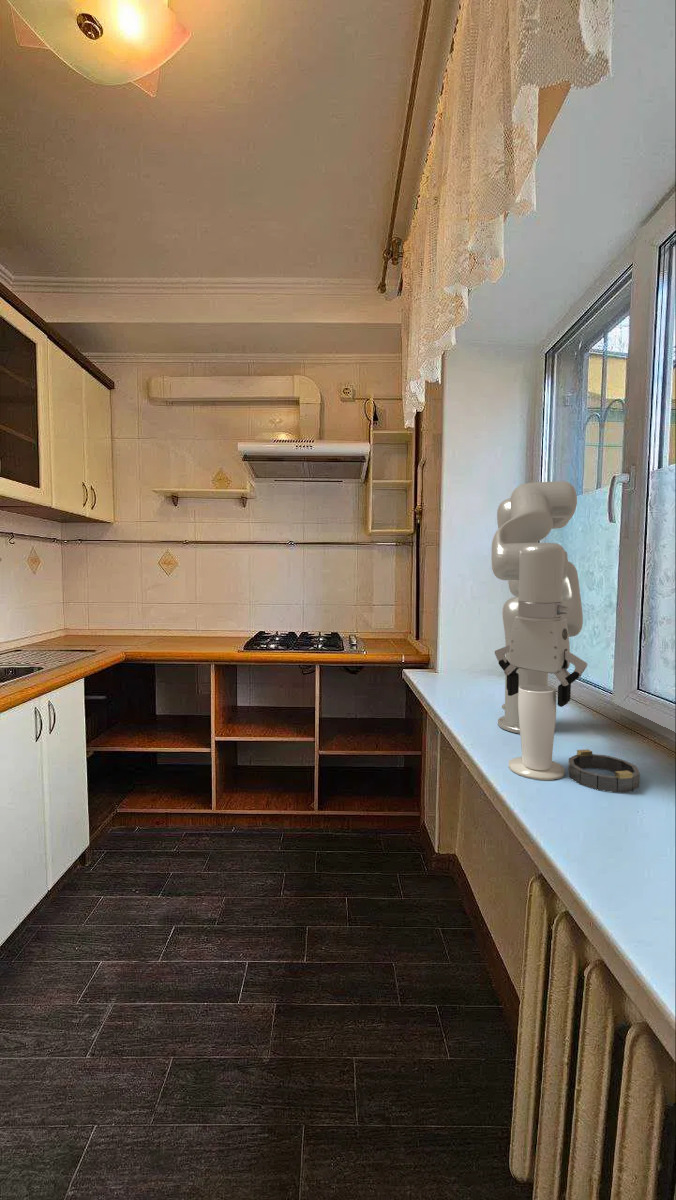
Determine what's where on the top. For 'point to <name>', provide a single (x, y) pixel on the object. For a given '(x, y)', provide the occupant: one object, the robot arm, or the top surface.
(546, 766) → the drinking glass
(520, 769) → the disc
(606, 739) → the top surface
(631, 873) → the top surface
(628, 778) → the collar
